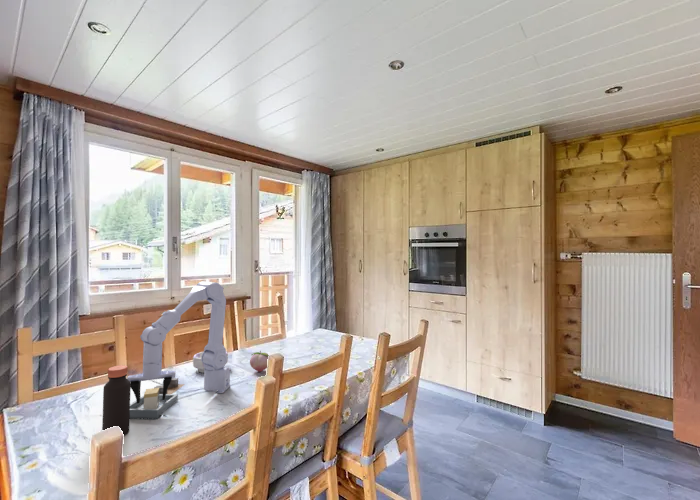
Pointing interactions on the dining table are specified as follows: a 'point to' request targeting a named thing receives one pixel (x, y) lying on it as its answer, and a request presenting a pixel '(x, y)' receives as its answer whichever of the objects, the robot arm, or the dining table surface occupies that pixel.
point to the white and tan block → (151, 398)
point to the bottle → (117, 399)
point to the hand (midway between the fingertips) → (151, 400)
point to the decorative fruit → (259, 361)
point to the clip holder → (171, 387)
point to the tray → (151, 412)
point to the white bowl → (198, 363)
